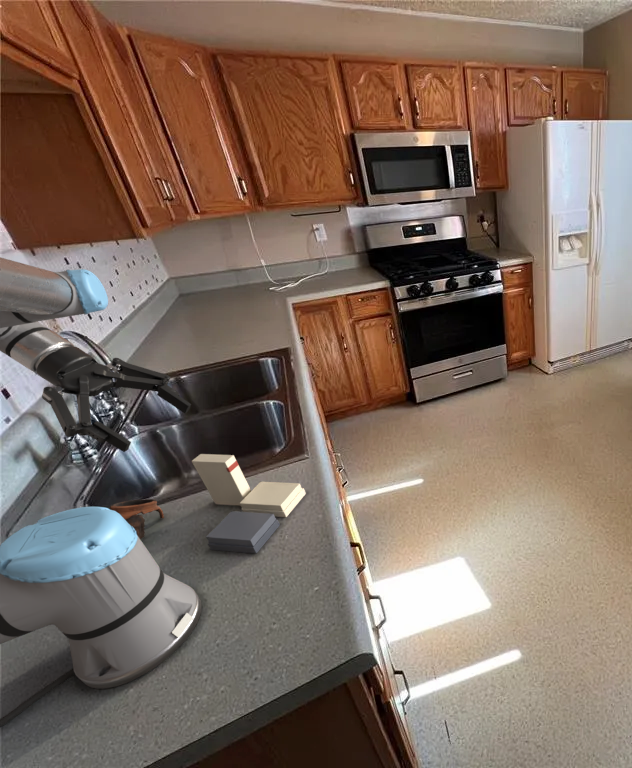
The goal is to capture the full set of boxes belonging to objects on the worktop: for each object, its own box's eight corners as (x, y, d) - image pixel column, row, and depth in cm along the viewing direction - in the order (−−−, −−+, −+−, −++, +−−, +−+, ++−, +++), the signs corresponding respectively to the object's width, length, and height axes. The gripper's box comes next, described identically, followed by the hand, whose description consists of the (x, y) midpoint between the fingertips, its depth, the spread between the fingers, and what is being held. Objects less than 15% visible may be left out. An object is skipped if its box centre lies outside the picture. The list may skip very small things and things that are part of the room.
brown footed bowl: (96, 545, 83) (98, 503, 84) (157, 533, 91) (158, 495, 91) (107, 558, 76) (109, 513, 76) (172, 544, 83) (173, 503, 84)
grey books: (256, 553, 78) (250, 541, 76) (210, 549, 79) (203, 538, 78) (280, 524, 84) (274, 513, 82) (237, 521, 85) (230, 510, 84)
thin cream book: (247, 506, 89) (225, 462, 84) (215, 504, 91) (191, 461, 85) (255, 498, 91) (233, 455, 86) (223, 496, 93) (200, 453, 87)
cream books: (286, 517, 85) (281, 506, 84) (244, 514, 87) (238, 503, 86) (305, 493, 92) (301, 482, 90) (266, 491, 93) (260, 480, 92)
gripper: (116, 346, 91) (203, 405, 96) (-29, 405, 70) (92, 477, 74) (123, 323, 88) (213, 385, 92) (-27, 377, 66) (100, 455, 71)
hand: (160, 426), depth 83 cm, fingers open, 13 cm apart
